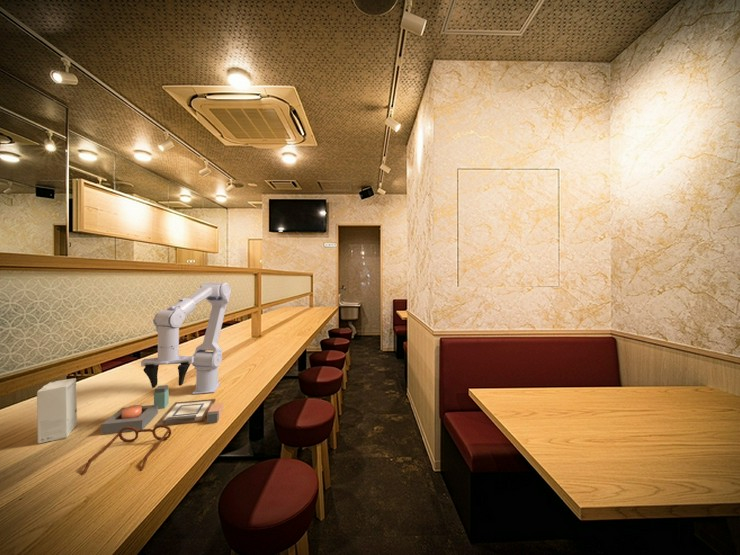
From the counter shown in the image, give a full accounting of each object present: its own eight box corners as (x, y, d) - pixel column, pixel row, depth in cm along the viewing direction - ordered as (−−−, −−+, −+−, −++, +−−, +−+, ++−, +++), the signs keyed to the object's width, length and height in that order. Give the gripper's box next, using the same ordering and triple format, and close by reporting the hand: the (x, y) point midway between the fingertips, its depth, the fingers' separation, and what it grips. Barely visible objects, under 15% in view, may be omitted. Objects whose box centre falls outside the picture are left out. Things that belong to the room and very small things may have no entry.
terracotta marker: (212, 413, 93) (212, 403, 93) (222, 412, 94) (223, 402, 94) (206, 424, 87) (206, 414, 87) (217, 422, 88) (217, 413, 88)
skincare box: (67, 438, 77) (67, 386, 77) (35, 445, 74) (35, 391, 74) (77, 424, 84) (78, 376, 84) (48, 429, 81) (49, 380, 81)
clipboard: (175, 404, 99) (175, 399, 99) (215, 400, 102) (215, 396, 102) (155, 426, 84) (155, 421, 84) (202, 421, 88) (202, 416, 88)
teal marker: (158, 404, 98) (158, 385, 98) (168, 404, 99) (168, 384, 98) (153, 409, 95) (154, 389, 94) (164, 408, 95) (164, 388, 95)
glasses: (172, 439, 79) (172, 422, 79) (141, 472, 66) (142, 452, 66) (120, 442, 77) (121, 425, 77) (79, 477, 64) (79, 456, 64)
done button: (127, 415, 87) (127, 405, 87) (144, 413, 89) (144, 404, 89) (117, 423, 83) (118, 413, 83) (136, 421, 84) (136, 411, 84)
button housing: (122, 416, 89) (122, 407, 89) (157, 413, 92) (158, 404, 92) (101, 434, 80) (101, 424, 80) (142, 430, 82) (142, 420, 82)
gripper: (136, 350, 86) (135, 392, 86) (189, 347, 90) (188, 388, 90) (147, 344, 93) (146, 383, 93) (195, 342, 97) (195, 380, 97)
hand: (168, 385), depth 92 cm, fingers open, 7 cm apart
